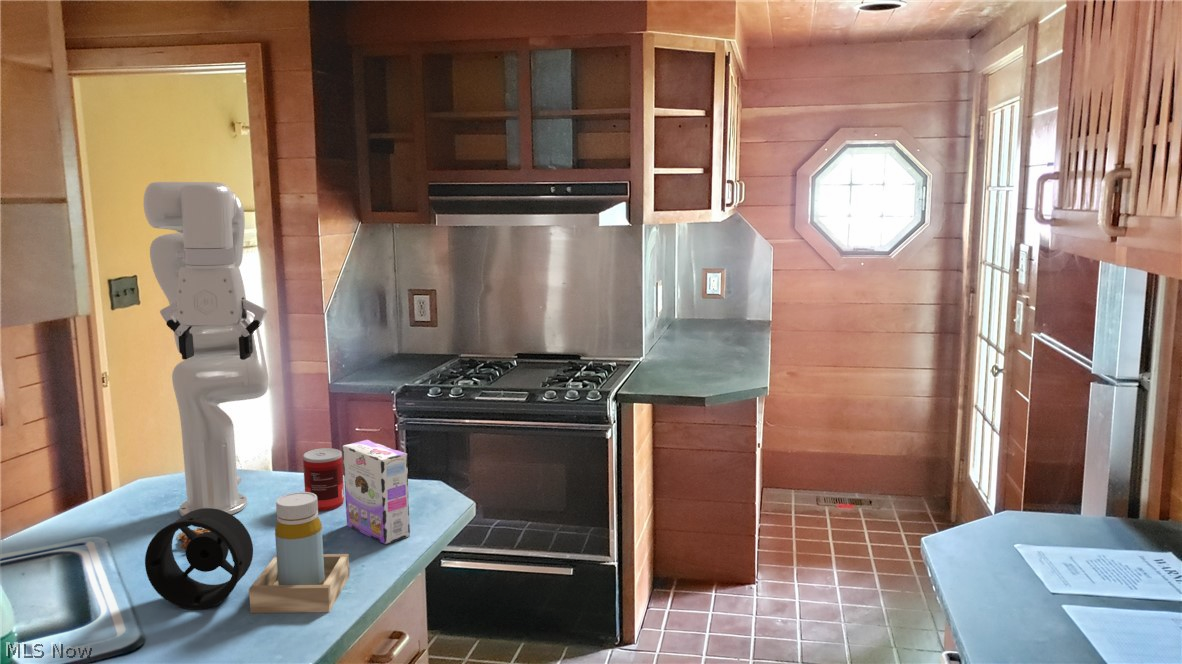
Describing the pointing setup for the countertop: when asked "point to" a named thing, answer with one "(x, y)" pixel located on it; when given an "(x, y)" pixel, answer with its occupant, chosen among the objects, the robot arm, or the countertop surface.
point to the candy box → (376, 490)
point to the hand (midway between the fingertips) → (216, 358)
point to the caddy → (299, 589)
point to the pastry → (186, 539)
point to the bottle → (299, 540)
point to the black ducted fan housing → (199, 558)
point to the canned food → (324, 477)
